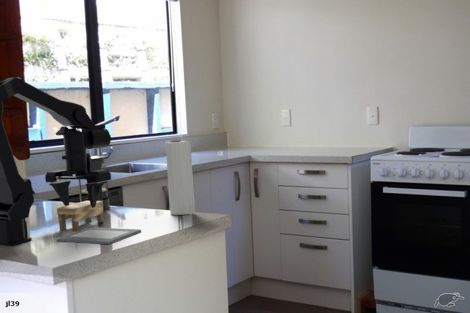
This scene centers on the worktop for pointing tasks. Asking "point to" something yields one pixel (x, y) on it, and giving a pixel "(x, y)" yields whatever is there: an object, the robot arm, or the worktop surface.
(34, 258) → the worktop surface
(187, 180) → the paper towel roll
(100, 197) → the french press
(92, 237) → the charcoal mat
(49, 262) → the worktop surface
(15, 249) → the worktop surface
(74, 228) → the oak stool
